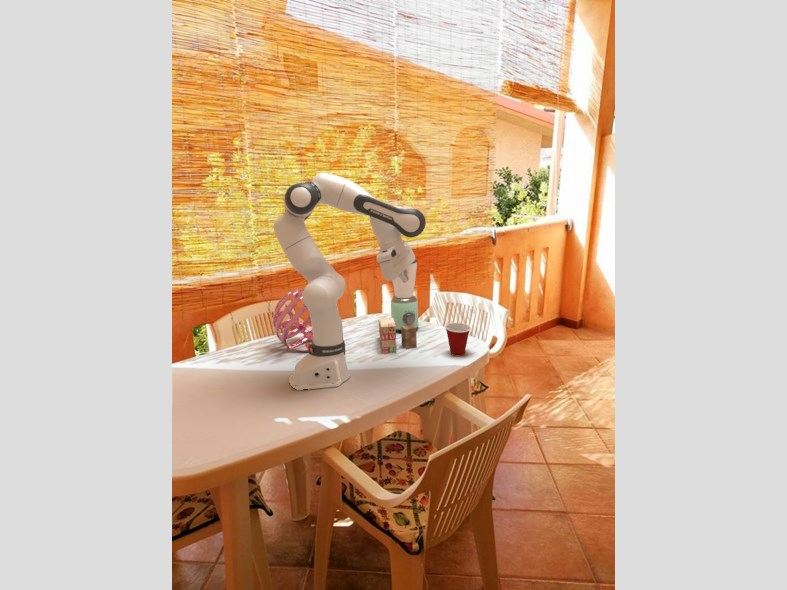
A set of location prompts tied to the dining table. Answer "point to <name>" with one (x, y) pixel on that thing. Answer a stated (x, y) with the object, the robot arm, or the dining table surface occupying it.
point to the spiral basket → (291, 320)
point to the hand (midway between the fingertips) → (406, 281)
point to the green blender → (405, 300)
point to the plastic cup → (457, 337)
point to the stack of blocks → (387, 335)
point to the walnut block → (409, 337)
